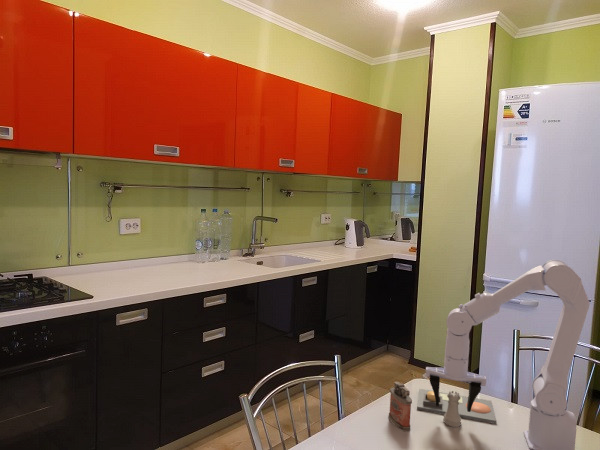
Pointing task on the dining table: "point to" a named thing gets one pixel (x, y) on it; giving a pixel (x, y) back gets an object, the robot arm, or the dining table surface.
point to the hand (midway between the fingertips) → (452, 407)
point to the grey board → (479, 409)
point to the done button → (431, 396)
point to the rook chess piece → (452, 410)
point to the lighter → (400, 406)
